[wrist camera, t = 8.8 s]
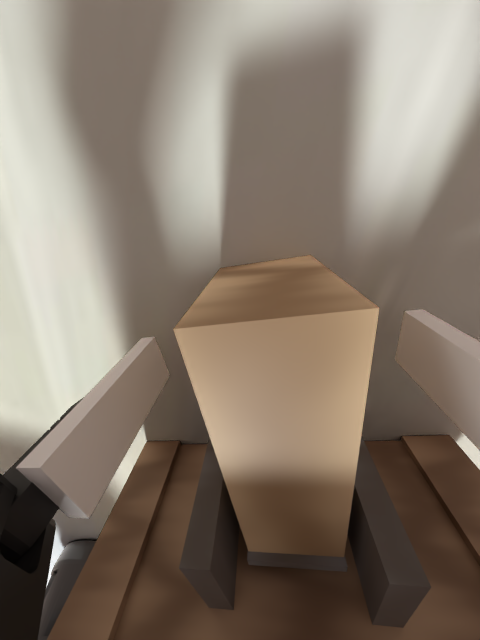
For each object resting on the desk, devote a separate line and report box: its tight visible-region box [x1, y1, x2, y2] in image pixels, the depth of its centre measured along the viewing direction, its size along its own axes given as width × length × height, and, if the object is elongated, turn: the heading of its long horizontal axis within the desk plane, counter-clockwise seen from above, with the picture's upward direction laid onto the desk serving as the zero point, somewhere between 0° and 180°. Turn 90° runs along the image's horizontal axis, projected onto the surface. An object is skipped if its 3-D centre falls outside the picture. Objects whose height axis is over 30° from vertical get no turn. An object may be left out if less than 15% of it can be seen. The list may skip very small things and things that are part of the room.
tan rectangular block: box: [173, 255, 379, 572], centre depth 10 cm, size 5×13×7 cm, turn 9°
